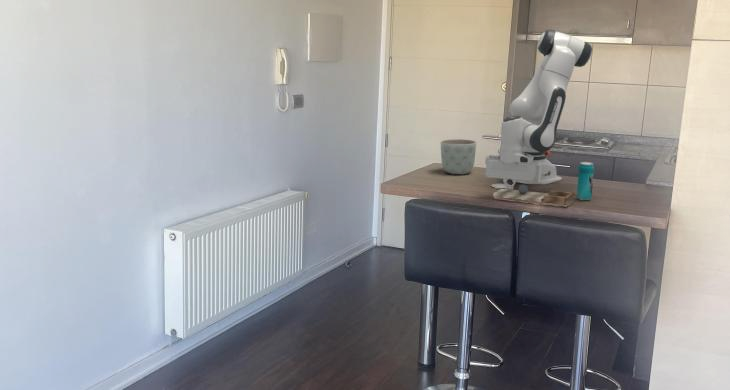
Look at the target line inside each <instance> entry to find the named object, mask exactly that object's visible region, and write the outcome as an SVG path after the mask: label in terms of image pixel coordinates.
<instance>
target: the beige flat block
mask: <svg viewBox="0 0 730 390" xmlns="http://www.w3.org/2000/svg"><path fill="white" fill-rule="evenodd" d="M548 194H549V193H546V192H538V191H537V192H536V191H528V192H527V193H525V194H521V193H520V192H519V191H518V190H517V189H513V190H506V189H497V190H496V191H495V192H493V193H492V197H493V196H494V197H503V198H512V199H521V200H528V201H537V202H541V199H542V198H543V197H544V195H548Z"/></svg>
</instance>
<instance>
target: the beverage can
mask: <svg viewBox="0 0 730 390" xmlns="http://www.w3.org/2000/svg"><path fill="white" fill-rule="evenodd" d="M594 170H595V166H594V162H589V161H581V162H579V166H578V177H577V194H576V196H577V198H578V200H579V199H582V200H581V201H583V200H589V201H590V200H591V199H592V197H593V185H594V172H595V171H594Z"/></svg>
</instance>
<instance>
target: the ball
mask: <svg viewBox="0 0 730 390" xmlns="http://www.w3.org/2000/svg"><path fill="white" fill-rule="evenodd" d="M517 189H518V191H519V192H520V193H521V194H525V193H527V192H529V186H528V184H525V183H520V184H519V186H518V188H517Z"/></svg>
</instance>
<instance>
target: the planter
mask: <svg viewBox="0 0 730 390" xmlns="http://www.w3.org/2000/svg"><path fill="white" fill-rule="evenodd" d="M476 147H477V142H476V140H472V139H465V138H463V139H461V138H453V139H443V140H441V141H440V154H441V155H440V156H441V157H440V158H441V165H442V168H443V170H444V171H445V172H446V173H448V174H449V175H455V174H461V175H466V174H469V173H470V172H471V171H472V170H473V169H474V166H475V160H476V159H475V158H476V149H477V148H476Z"/></svg>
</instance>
